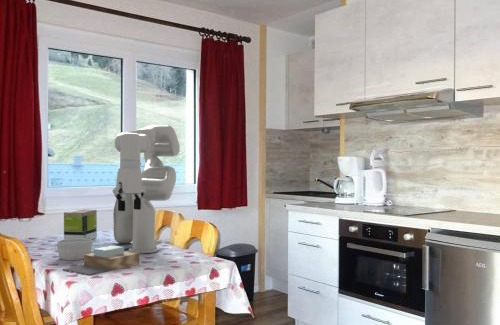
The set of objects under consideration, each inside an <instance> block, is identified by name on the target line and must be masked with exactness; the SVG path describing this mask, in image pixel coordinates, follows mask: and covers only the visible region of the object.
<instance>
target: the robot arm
mask: <svg viewBox="0 0 500 325" xmlns="http://www.w3.org/2000/svg"><path fill="white" fill-rule="evenodd" d="M180 147H181V146H180V141H179V139H178V136H177V133H176V131H175V129H174V128H173V126H171V125H168V124H165V125H163V124H161V125H159V124H151V125H148V126H146V127H143V128H139V129H135V130H129V131H127V130H126V131H124V132H120V133H118V134H117V135H116V137H115V138H114V149H116V151H117V152H118V153H120V156H119V159H120V160H119V162H120V163H119V164H120V165H119V167H120V168H118V169H117V175H116V181H115V187H114V188H113V189H112V193H113V195H114V197H115V198H117V200H118V211H125V201H124V199H125V196H126V194H132V200H133V240H132V242H131V243H132V246H131V247H129V248H128V252H135V253H139V254H152V253H157V252H159V247H157V246H159V245H162V244H163V242H162V240H161V239H159V240H157V239H156V209H155V207H154V206H153V204H152V202H153V201H155V202H159V201H161V202H162V201H168V200H169V199H170V198H171V197H172V195H173V191H174V188H175V185H176V181H177V172H176V170H175V168H174V167H173V166H170V165H169V166H168V165H165V164H164V163H163V161H162V160H161V157H163V158H164V157H165V158H166V157H167V158H168V157H170V158H171V157H173V158H174V157H177V156H179V153H180ZM141 154H143V159H144V163H145V164H144V167H143V169H141V165H142V162H141ZM150 201H152V202H150Z"/></svg>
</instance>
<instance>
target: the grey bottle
mask: <svg viewBox="0 0 500 325" xmlns="http://www.w3.org/2000/svg"><path fill="white" fill-rule="evenodd" d="M115 198H116V197H115ZM124 201H125V211H118V200H117V198H116V199H115V203H114V207H113V213H112V214H113V236H114V237H113V238H114V240H115V242H117V243H118V244H122V245H123V244H130V243H132V240H133V200H132V194H126V196H125V199H124Z"/></svg>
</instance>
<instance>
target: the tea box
mask: <svg viewBox="0 0 500 325" xmlns="http://www.w3.org/2000/svg"><path fill="white" fill-rule="evenodd" d="M97 213H98V212H97V209H87V208H86V209H75V210H70V211H65V212H63V240H64V239H91V240H93V239H96V238H98V236H97V235H98V231H97V230H98V223H97V222H98V221H97V219H98V218H97V217H98V216H97V215H98V214H97Z"/></svg>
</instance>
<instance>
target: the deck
mask: <svg viewBox="0 0 500 325" xmlns="http://www.w3.org/2000/svg"><path fill="white" fill-rule="evenodd" d="M139 264H140V253H135V252H129V250H128V251H127V250H124V254H120V255H115V256H110V257H99V256H94V252H93V253H92V252H91V254H86V255H84V259H83V265H88V266H94V267H100V268H105V269H111V271H114V270H119V269H123V268H128V267H132V266H136V265H139Z"/></svg>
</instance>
